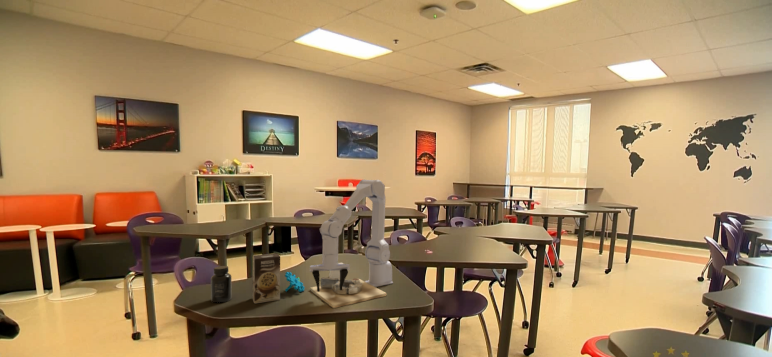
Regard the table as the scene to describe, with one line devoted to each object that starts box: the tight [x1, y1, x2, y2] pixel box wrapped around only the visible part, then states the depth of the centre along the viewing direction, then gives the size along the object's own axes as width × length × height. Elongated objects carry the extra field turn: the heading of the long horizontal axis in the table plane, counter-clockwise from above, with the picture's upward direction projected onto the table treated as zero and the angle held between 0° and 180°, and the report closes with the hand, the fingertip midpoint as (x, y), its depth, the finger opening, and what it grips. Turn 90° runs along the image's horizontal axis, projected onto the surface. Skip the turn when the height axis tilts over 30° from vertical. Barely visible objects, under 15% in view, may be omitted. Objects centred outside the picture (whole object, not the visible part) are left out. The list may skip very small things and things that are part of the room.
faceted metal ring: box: [320, 276, 362, 294], centre depth 134 cm, size 16×11×4 cm
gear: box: [284, 271, 305, 293], centre depth 135 cm, size 11×6×10 cm
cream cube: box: [328, 262, 347, 281], centre depth 152 cm, size 6×6×6 cm
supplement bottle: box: [210, 265, 233, 304], centre depth 125 cm, size 7×7×12 cm
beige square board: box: [309, 277, 388, 309], centre depth 133 cm, size 22×22×4 cm
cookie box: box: [252, 252, 281, 304], centre depth 126 cm, size 9×6×16 cm
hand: (329, 290), depth 127 cm, fingers open, 7 cm apart
